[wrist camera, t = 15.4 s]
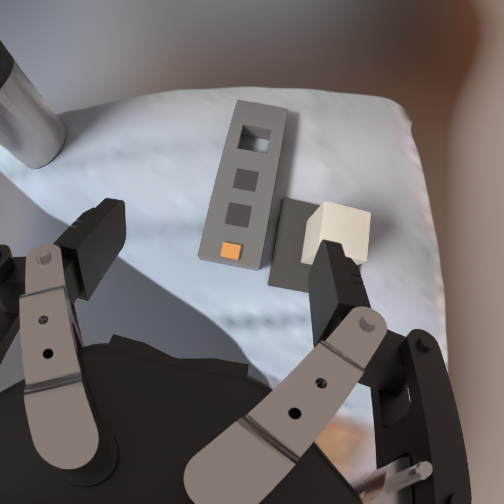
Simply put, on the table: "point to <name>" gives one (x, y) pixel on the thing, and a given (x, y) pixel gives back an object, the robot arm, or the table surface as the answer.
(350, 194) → the table surface
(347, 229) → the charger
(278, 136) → the power strip
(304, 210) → the mat
